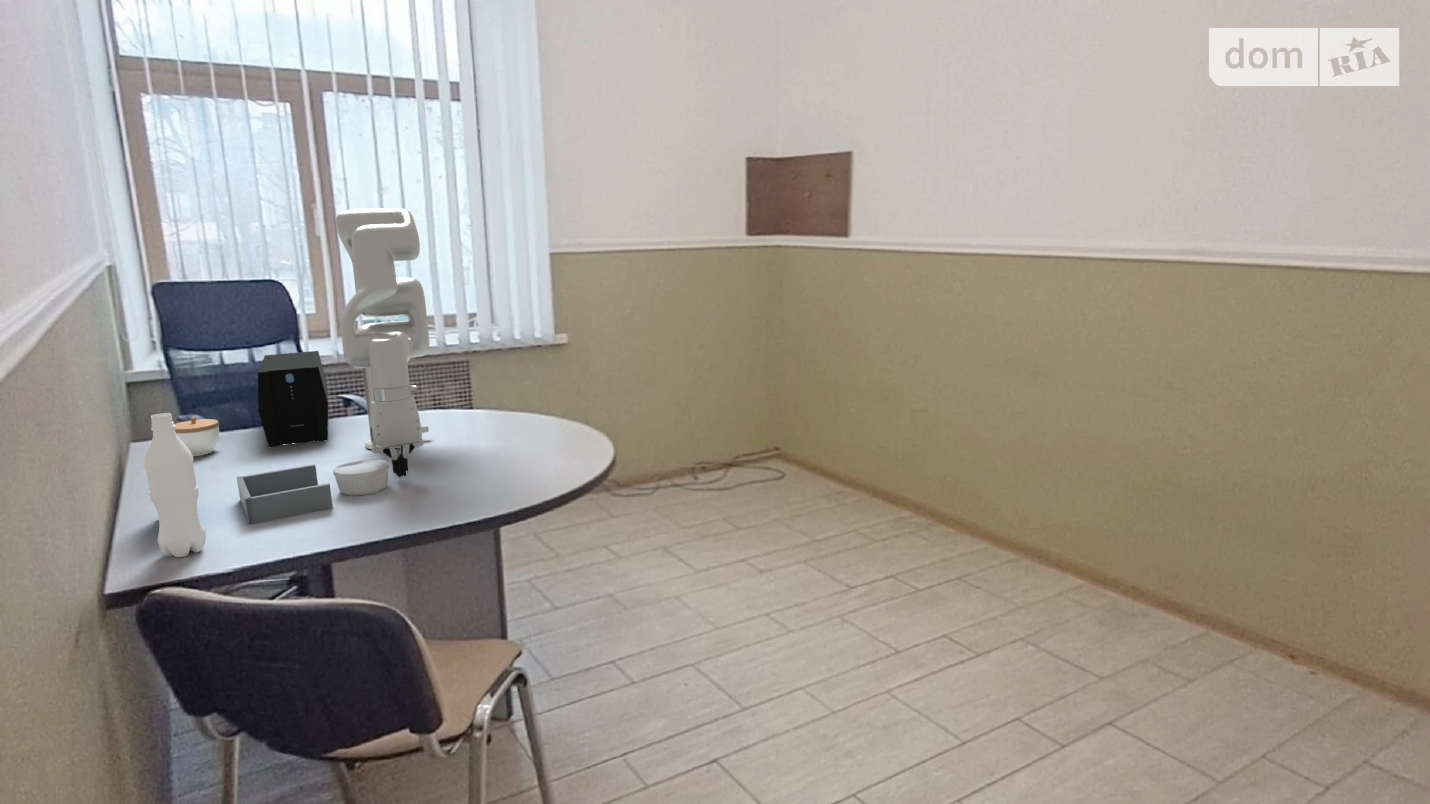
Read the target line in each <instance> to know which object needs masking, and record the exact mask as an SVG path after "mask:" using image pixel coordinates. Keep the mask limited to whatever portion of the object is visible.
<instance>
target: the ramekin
mask: <svg viewBox="0 0 1430 804" xmlns="http://www.w3.org/2000/svg"><path fill="white" fill-rule="evenodd" d="M389 468H390V463H389V462H388V461H387V460H384V459H362V460H355V461H350V462H345V463H342V464H340V465H337V466H336V467H334V469H332V471H333V472H332V473H333V476H334V477H335V481H336V484H337V487H338V490H339V492H340V493H342V494H343V495H346V496H354V497H355V496H357V497H358V496H366V495H371V494H375V493H378V492H380V491H382V490H384V489H385V488H386V486H387V485H388V478H389V476H388V475H389Z"/></svg>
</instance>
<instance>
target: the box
mask: <svg viewBox="0 0 1430 804" xmlns="http://www.w3.org/2000/svg"><path fill="white" fill-rule="evenodd" d="M317 474H318V473H317V467H316V464H308V465H302V466H297V467H295V466H294V467H292V468H290V467H289V468H284V469H279V470H272V471H267V472H260V473H253V474H247V475H241V476H237V477H236V483H237V488H238V495H239V501H240V503H241V506H242V508H243V511H244V514H245V516H246V520H247V522H248V524H249V525H252V524H258V523H262V522H267V521H273V520H279V519H284V518H288V517H289V518H290V517H293V516H298V515H303V514H308V513H314V512H318V511H323V510H329V509H333V508H334V507H333V505H334V504H333V497H332V492H331V491H332V490H331V485H330V482H327V483H323V484H319V481H318V476H317Z"/></svg>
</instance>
